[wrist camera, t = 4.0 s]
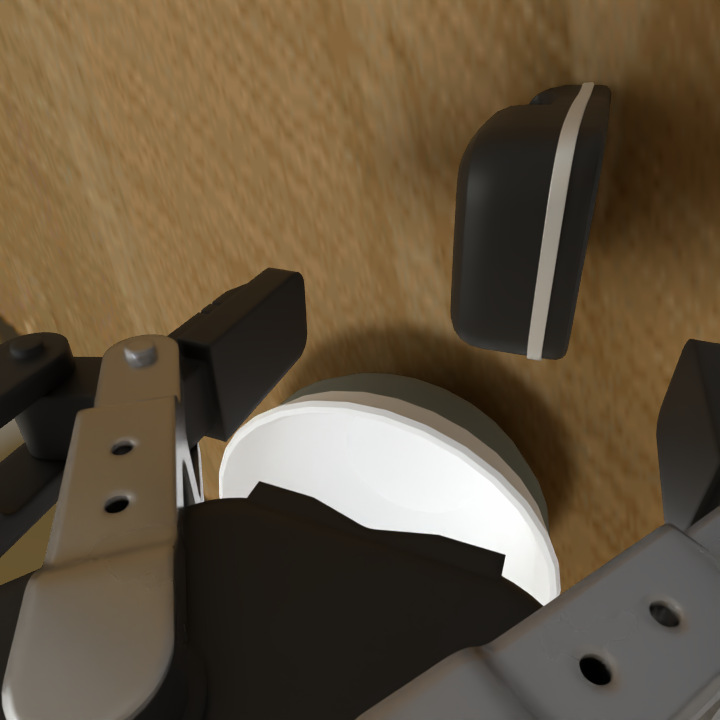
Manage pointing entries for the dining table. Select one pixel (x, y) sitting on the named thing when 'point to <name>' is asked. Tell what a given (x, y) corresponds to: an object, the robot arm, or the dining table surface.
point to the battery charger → (527, 221)
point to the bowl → (402, 468)
